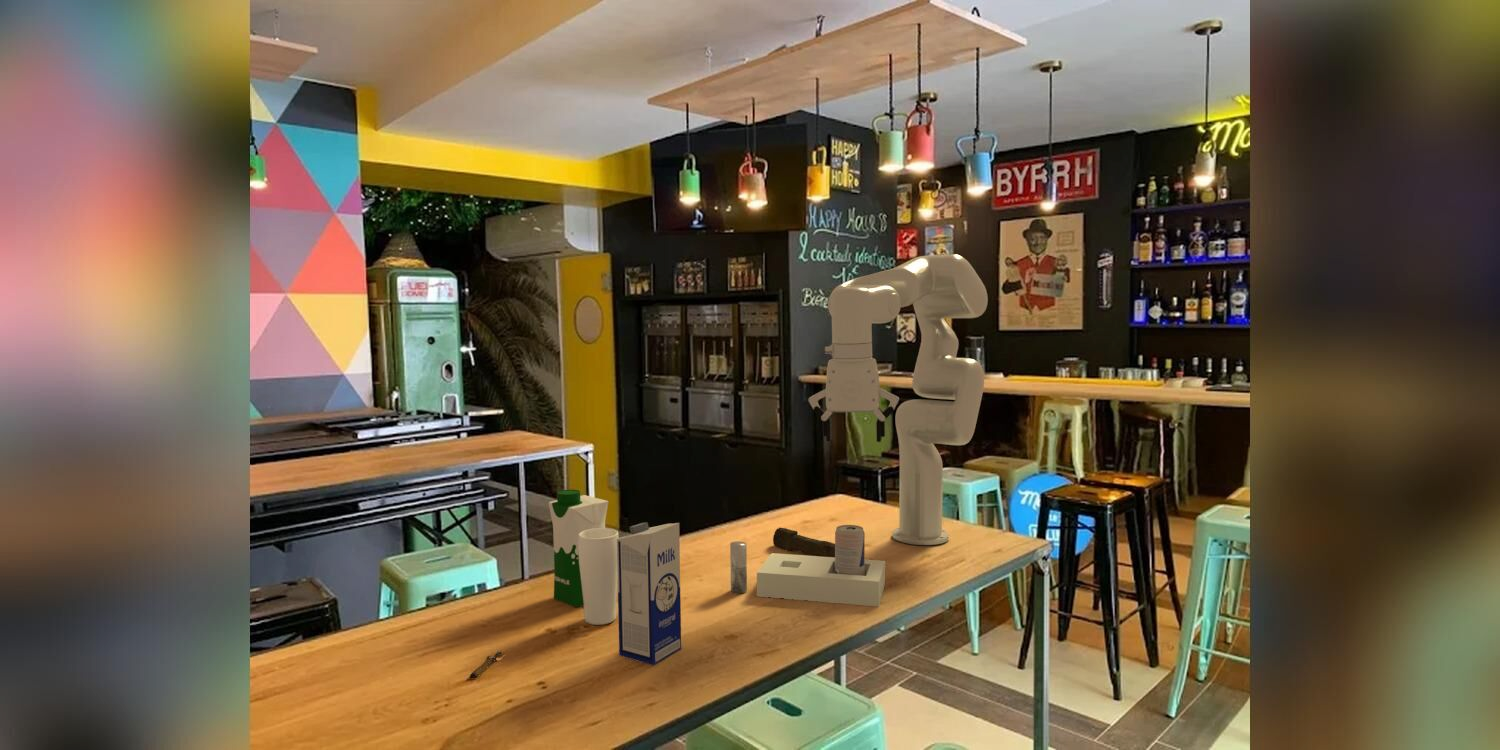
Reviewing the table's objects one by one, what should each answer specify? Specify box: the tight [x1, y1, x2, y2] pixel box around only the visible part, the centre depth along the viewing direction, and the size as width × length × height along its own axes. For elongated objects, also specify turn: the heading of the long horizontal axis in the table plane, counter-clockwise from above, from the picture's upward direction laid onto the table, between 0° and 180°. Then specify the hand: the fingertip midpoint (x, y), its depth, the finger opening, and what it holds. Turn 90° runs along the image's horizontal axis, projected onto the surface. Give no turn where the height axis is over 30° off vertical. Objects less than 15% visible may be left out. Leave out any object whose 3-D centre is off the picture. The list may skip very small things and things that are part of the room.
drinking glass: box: [578, 527, 620, 626], centre depth 135 cm, size 7×7×15 cm
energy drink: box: [834, 524, 866, 576], centre depth 148 cm, size 5×5×12 cm
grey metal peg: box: [729, 541, 748, 595], centre depth 149 cm, size 3×3×9 cm
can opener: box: [469, 650, 502, 679], centre depth 119 cm, size 9×2×1 cm, turn 165°
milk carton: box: [616, 521, 682, 666], centre depth 122 cm, size 7×7×20 cm
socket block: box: [756, 552, 886, 608], centre depth 149 cm, size 12×22×4 cm, turn 75°
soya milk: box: [548, 489, 609, 609], centre depth 146 cm, size 9×9×20 cm
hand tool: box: [772, 527, 835, 557], centre depth 172 cm, size 19×4×5 cm, turn 46°
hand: (854, 440), depth 156 cm, fingers open, 9 cm apart
